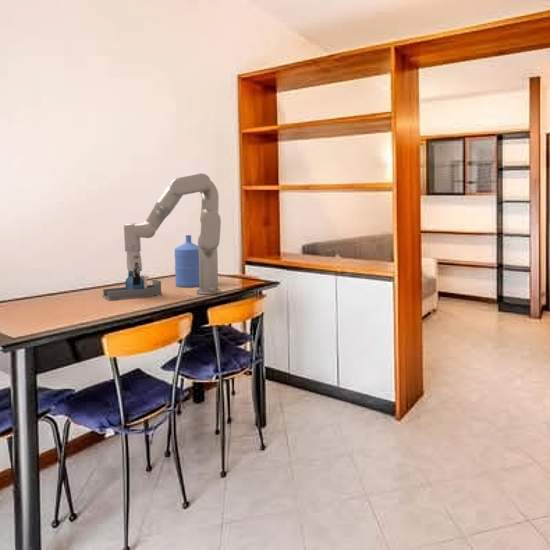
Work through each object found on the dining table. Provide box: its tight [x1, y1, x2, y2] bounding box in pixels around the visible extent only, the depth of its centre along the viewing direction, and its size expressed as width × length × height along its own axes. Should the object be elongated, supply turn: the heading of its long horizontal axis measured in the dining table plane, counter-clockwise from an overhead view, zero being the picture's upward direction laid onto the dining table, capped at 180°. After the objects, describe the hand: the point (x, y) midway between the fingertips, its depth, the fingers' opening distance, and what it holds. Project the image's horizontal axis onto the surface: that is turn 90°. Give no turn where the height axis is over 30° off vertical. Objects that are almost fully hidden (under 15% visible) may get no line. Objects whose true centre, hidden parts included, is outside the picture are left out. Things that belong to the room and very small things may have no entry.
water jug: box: [174, 234, 200, 288], centre depth 289 cm, size 16×16×28 cm
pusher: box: [140, 274, 150, 288], centre depth 261 cm, size 7×2×8 cm, turn 32°
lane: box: [102, 278, 163, 301], centre depth 258 cm, size 12×26×7 cm, turn 122°
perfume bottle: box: [124, 270, 143, 290], centre depth 258 cm, size 6×6×12 cm
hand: (134, 283), depth 258 cm, fingers closed on perfume bottle, 7 cm apart
